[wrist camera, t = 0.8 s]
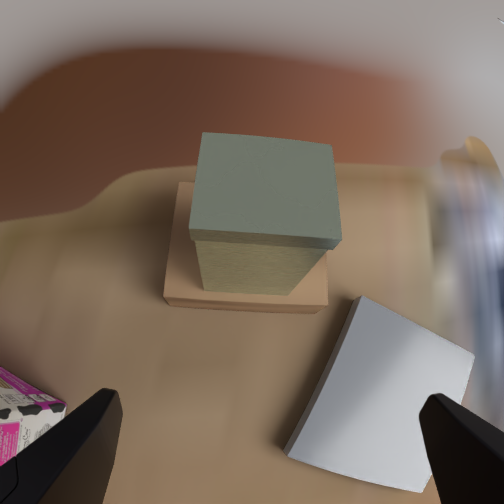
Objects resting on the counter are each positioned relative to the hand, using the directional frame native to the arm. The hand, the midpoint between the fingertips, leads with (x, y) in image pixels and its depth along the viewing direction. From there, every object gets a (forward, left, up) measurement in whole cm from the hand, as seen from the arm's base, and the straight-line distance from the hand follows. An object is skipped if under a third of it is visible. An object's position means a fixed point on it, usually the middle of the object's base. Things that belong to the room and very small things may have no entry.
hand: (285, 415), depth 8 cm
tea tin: (+5, +6, -10) cm, 13 cm away
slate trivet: (+7, -8, -13) cm, 17 cm away
